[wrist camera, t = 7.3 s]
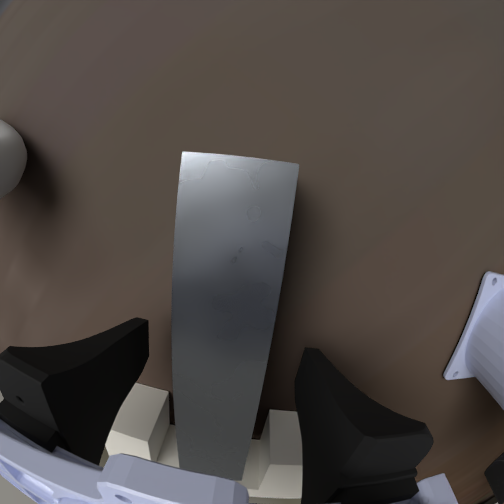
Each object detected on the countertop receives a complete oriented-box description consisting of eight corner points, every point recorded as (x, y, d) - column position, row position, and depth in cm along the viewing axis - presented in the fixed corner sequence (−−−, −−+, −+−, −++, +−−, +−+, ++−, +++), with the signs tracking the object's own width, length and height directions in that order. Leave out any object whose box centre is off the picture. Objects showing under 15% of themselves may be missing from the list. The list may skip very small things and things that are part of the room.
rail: (285, 170, 13) (299, 164, 8) (245, 423, 17) (241, 481, 12) (211, 162, 13) (182, 151, 8) (195, 415, 17) (179, 471, 12)
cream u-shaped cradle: (314, 412, 16) (324, 465, 12) (296, 451, 17) (300, 498, 13) (126, 379, 16) (98, 424, 12) (132, 422, 17) (112, 464, 13)
